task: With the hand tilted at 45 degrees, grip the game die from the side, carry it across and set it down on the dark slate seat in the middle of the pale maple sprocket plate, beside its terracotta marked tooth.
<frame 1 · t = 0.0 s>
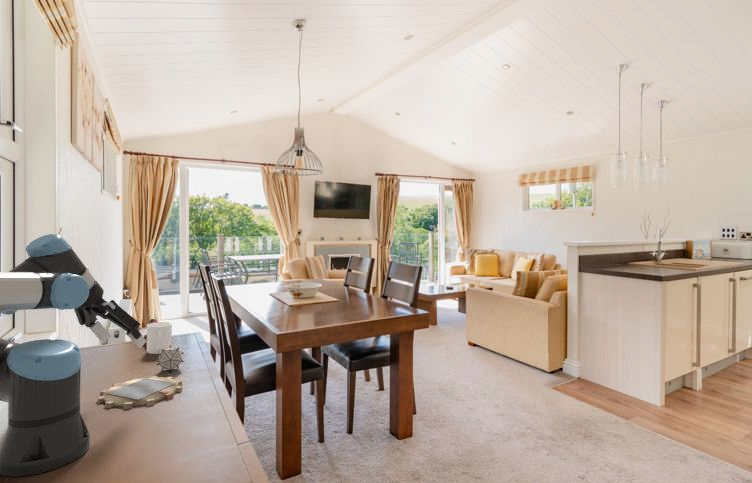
hand: (124, 342, 116), 15 cm above the table, tool tilted 35°, fingers open, 13 cm apart
toy fire truck: (154, 344, 168), on the table
game die: (170, 370, 137), on the table
mug: (159, 353, 157), on the table
sprocket plate: (142, 392, 118), on the table
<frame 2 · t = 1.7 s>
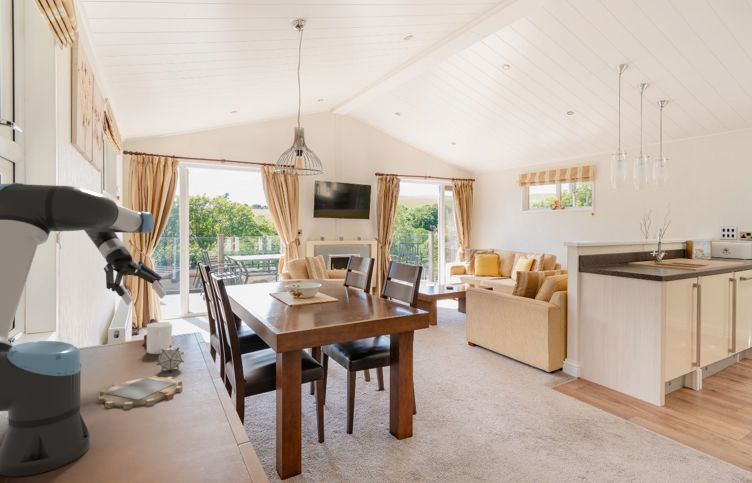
hand: (147, 299, 140), 24 cm above the table, tool tilted 45°, fingers open, 13 cm apart
nothing on the table moved.
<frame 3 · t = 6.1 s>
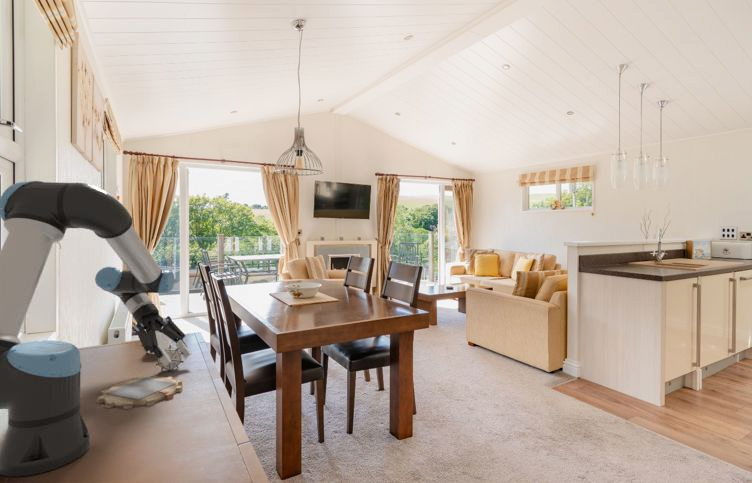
hand: (178, 360, 136), 4 cm above the table, tool tilted 45°, fingers closed on game die, 8 cm apart
game die: (169, 371, 137), on the table, touching gripper
everything else where it was.
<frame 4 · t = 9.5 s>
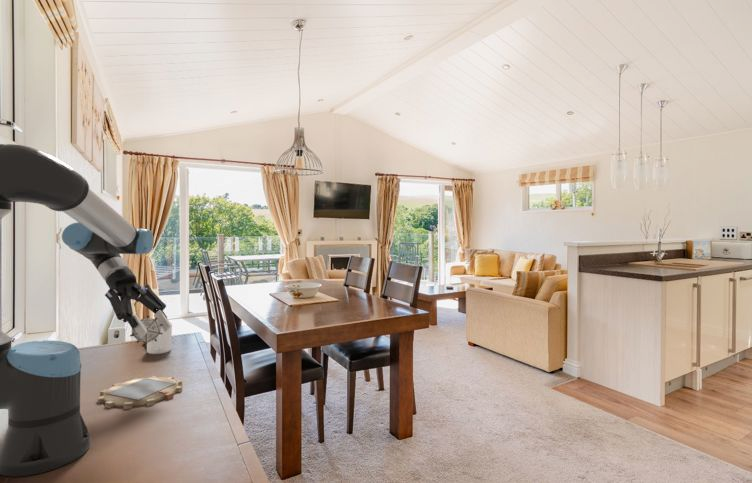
hand: (156, 331, 120), 18 cm above the table, tool tilted 45°, fingers closed on game die, 8 cm apart
game die: (146, 344, 120), point 14 cm above the table, touching gripper
everything else where it was.
when the fingers open (6 cm above the table, at t = 12.9 s): game die drops 1 cm, resting on sprocket plate.
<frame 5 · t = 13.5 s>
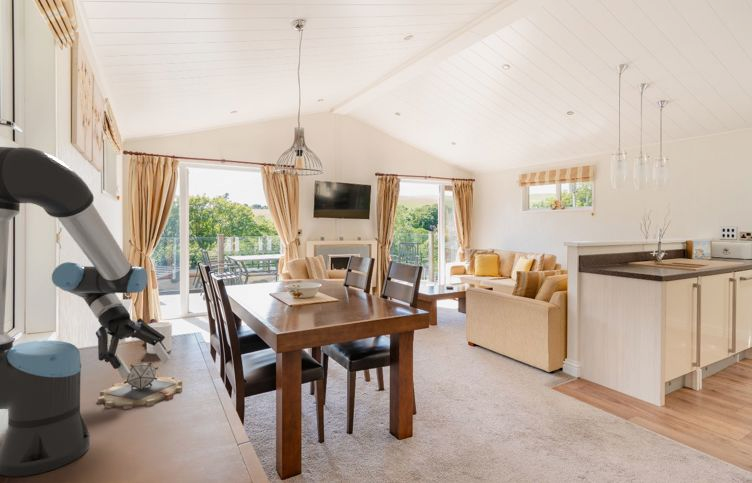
hand: (148, 368, 117), 8 cm above the table, tool tilted 45°, fingers open, 13 cm apart
game die: (141, 389, 117), point 1 cm above the table, touching sprocket plate
everything else where it was.
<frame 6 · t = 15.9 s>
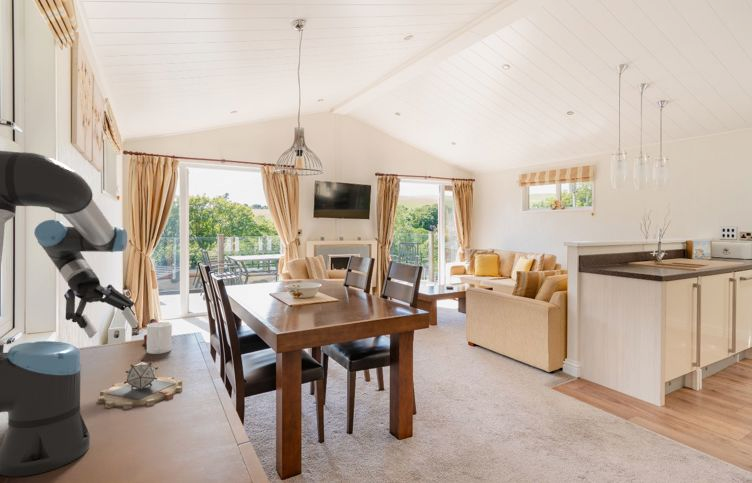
hand: (115, 329, 121), 17 cm above the table, tool tilted 45°, fingers open, 13 cm apart
nothing on the table moved.
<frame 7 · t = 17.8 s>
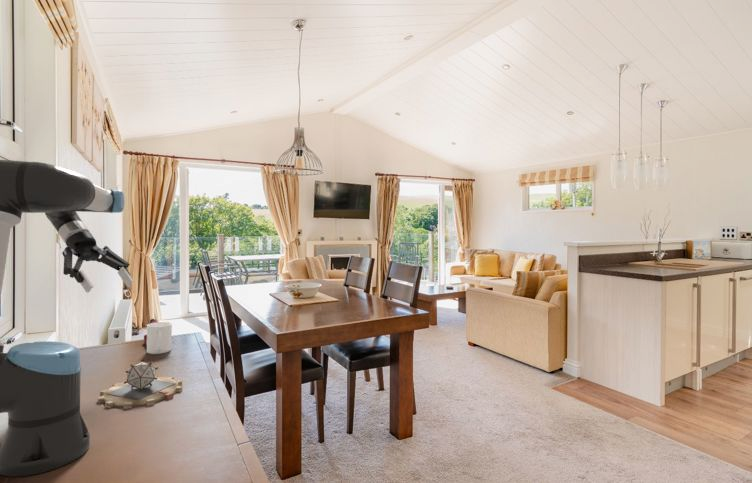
hand: (111, 286, 127), 30 cm above the table, tool tilted 45°, fingers open, 13 cm apart
nothing on the table moved.
at the end: game die inside the target area on the sprocket plate (0.5 cm from its centre), point 1.2 cm above the sprocket plate's base; game die tilted 0°; the gripper is holding nothing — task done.
